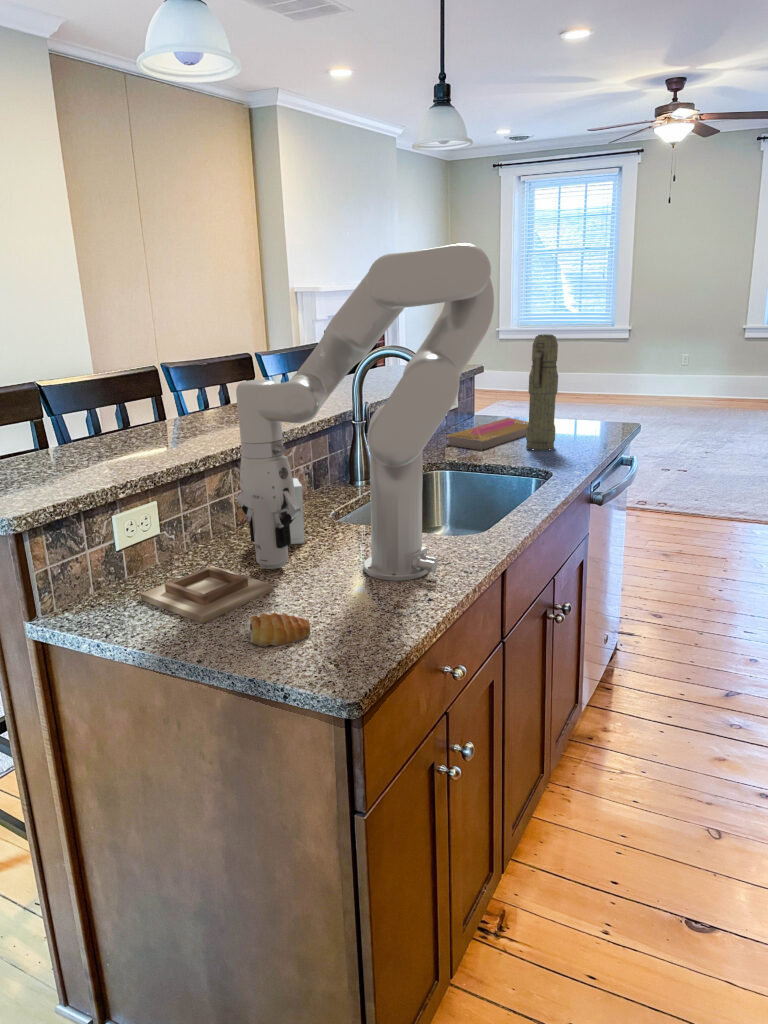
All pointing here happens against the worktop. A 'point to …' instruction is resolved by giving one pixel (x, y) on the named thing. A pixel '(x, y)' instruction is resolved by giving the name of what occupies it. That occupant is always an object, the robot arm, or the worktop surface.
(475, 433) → the pink-striped tan slab
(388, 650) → the worktop surface
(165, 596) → the board
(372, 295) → the robot arm
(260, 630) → the pastry
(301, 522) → the supplement box
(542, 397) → the olive stone tall figure
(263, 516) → the energy drink can
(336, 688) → the worktop surface
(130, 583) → the worktop surface
